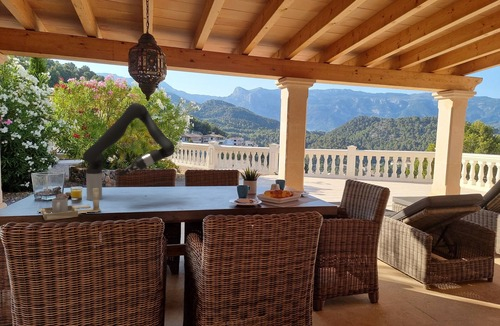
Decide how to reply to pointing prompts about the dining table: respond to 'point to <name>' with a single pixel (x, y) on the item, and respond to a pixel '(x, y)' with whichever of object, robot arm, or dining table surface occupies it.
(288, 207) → the dining table surface
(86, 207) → the broken strip
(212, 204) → the dining table surface
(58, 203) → the cup
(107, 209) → the dining table surface
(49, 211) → the tan wooden stand
